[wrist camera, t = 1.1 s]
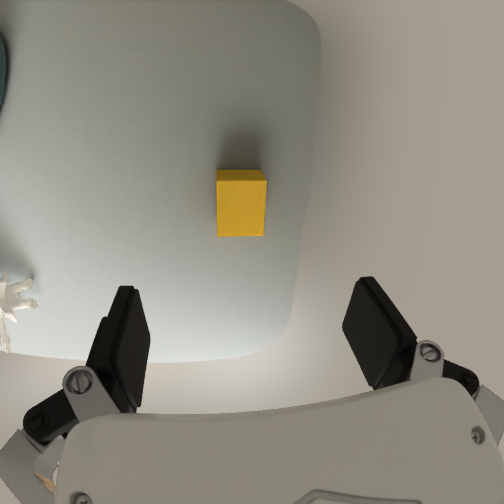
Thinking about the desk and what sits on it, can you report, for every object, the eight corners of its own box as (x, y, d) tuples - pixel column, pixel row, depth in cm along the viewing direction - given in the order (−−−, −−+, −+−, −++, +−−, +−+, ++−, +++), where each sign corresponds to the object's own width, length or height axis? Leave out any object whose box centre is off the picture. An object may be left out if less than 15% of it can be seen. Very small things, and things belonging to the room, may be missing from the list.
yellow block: (216, 220, 27) (217, 237, 24) (216, 169, 24) (216, 180, 21) (258, 219, 27) (263, 236, 24) (260, 169, 25) (267, 180, 22)
